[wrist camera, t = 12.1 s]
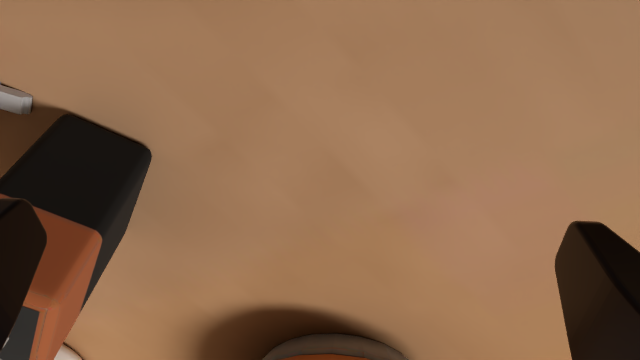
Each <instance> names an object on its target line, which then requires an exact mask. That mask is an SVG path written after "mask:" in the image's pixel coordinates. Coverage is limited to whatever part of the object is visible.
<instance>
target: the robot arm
mask: <svg viewBox="0 0 640 360" xmlns="http://www.w3.org/2000/svg"><path fill="white" fill-rule="evenodd" d="M46 244H47V233H46V230H45V228H44V227H43V225H42V223H41V221H40V219H39V217H38V216H37V214H36V212H35V210H34V208H33V206H32V205H31V203H30V202H29V201H27V200H26V199H21V198H1V199H0V352H1V350H2V348H3V346H4V344H5V342H6V341H7V339H8V337H9V335H10V333H11V331H12V328H13V326H14V324H15V322H16V320H17V318H18V315H19V313H20V311H21V308H22V306H23V303H24V300H25V298H26V295H27V293H28V290H29V288H30V285H31V283H32V280H33V278H34V275H35V273H36V270H37V268H38V265H39V263H40V260H41V257H42V255H43V252H44V250H45V247H46ZM555 272H556V278H557V283H558V288H559V294H560V299H561V304H562V310H563V315H564V321H565V326H566V331H567V337H568V342H569V347H570V352H571V356H572V360H640V252H639V251H638V250H636V249H635V248H634V247H632V246H631V245H630V244H629V243H627V242H626V241H625V240H624V239H622V238H621V237H620V236H618V235H617V234H616V233H615V232H613V231H612V230H611V229H609V228H608V227H607V226H606V225H604V224H602V223H600V222H592V221H574V222H572V223H571V224H570V225H569V226H568V228H567V231H566V233H565V235H564V238H563V240H562V243H561V245H560V247H559V250H558V252H557V255H556V259H555Z"/></svg>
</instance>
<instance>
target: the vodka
mask: <svg viewBox="0 0 640 360" xmlns="http://www.w3.org/2000/svg"><path fill="white" fill-rule="evenodd" d="M54 360H82V359H81V357H80V356H79V355H78V354H77V353H76V352H75V351H73V350H72V349H71V348H69V347H68V346H66V345H64V344H62V346H61V347H60V349H59V351H58V353H57V355H56V356H55V358H54Z"/></svg>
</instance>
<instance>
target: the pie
mask: <svg viewBox="0 0 640 360" xmlns="http://www.w3.org/2000/svg"><path fill="white" fill-rule="evenodd" d="M262 360H408V359H407V358H406V357H405V356H404V355H403V354H402V353H400V352H398V351H396V350H395V349H393V348H391V347H389V346H387V345H385V344H383V343H380V342H377V341H374V340H370V339H367V338H364V337H360V336H353V335H344V334H336V333H333V334H311V335H307V336H303V337H298V338H294V339H290V340H288V341H286V342H284V343H282V344H280V345H278V346H276V347H274V348H273V349H272V350H271V351H270V352H269V353H268V354H267V355H266V356H265V357H264V358H263V359H262Z"/></svg>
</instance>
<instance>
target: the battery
mask: <svg viewBox="0 0 640 360" xmlns="http://www.w3.org/2000/svg"><path fill="white" fill-rule="evenodd" d="M151 158H152V156H151V152H150V150H149V149H148V148H146V147H144V146H141V145H139V144H137V143H134V142H132V141H130V140H128V139H125V138H123V137H121V136H118V135H116V134H114V133H111V132H109V131H107V130H105V129H102V128H100V127H98V126H95V125H93V124H91V123H88V122H86V121H84V120H82V119H79V118H77V117H75V116H72V115H68V114H66V115H63V116H61V117H60V118H59V119H58V120H57V121H56V122H55V123H54V124H53V125H52V126H51V127H50V128H49V129H48V130H47V131H46V132H45V133H44V134H43V135H42V136H41V137H40V138H39V139H38V140H37V141H36V142H35V143H34V144H33V145H32V146H31V148H30V149H29V150H28V151H27V152H26V153H25V154H24V155H23V156H22V157H21V158H20V159H19V160H18V161H17V162H16V163H15V164H14V165H13V166H12V167H11V168H10V169H9V170H8V171H7V172H6V173H5V175H4V176H3V177H2V178H1V179H0V199H1V198H21V199H26V200H27V201H29V202H30V203H31V205H32V206H33V208H34V210H35V212H36V214H37V216H38V217H39V219H40V221H41V223H42V225H43V227H44V228H45V230H46V233H47V244H46V247H45V250H44V252H43V255H42V257H41V260H40V263H39V265H38V268H37V270H36V273H35V275H34V278H33V280H32V283H31V285H30V288H29V290H28V293H27V295H26V298H25V300H24V303H23V306H22V308H21V311H20V313H19V315H18V318H17V320H16V322H15V324H14V326H13V328H12V331H11V333H10V335H9V337H8V339H7V341H6V342H5V344H4V346H3V348H2V350H1V352H0V360H54V358H55V356H56V355H57V353H58V351H59V349H60V347H61V346H62V344H63V342H64V340H65V339H66V337H67V335H68V333H69V332H70V330H71V328H72V326H73V324H74V323H75V321H76V319H77V317H78V316H79V314H80V312H81V310H82V308H83V307H84V305H85V303H86V301H87V300H88V298H89V296H90V294H91V293H92V291H93V289H94V287H95V285H96V284H97V282H98V280H99V278H100V277H101V275H102V273H103V271H104V270H105V268H106V266H107V264H108V262H109V261H110V259H111V257H112V255H113V254H114V252H115V250H116V248H117V246H118V245H119V243H120V241H121V239H122V238H123V236H124V234H125V231H126V229H127V226H128V223H129V221H130V218H131V215H132V212H133V209H134V207H135V204H136V201H137V198H138V196H139V193H140V190H141V187H142V184H143V182H144V179H145V176H146V173H147V171H148V168H149V165H150V162H151Z"/></svg>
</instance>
